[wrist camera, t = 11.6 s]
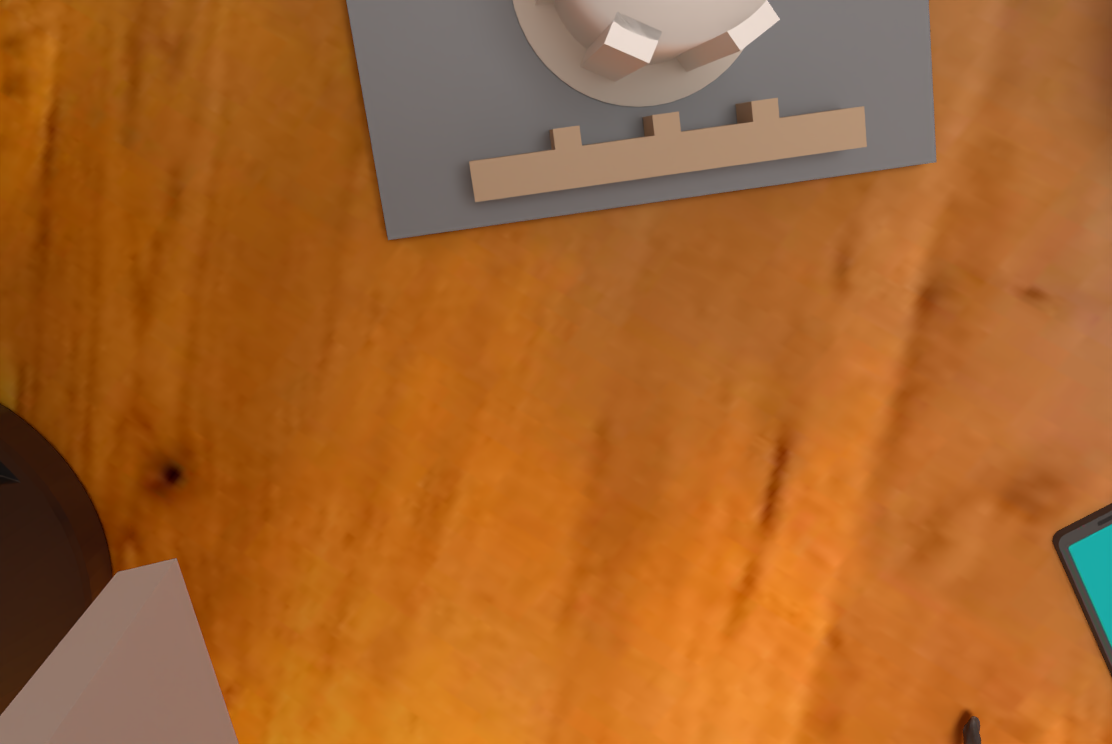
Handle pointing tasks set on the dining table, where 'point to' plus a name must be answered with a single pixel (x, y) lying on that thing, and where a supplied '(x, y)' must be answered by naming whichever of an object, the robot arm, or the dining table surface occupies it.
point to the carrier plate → (627, 109)
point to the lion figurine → (972, 731)
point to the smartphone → (1091, 571)
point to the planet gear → (660, 31)
